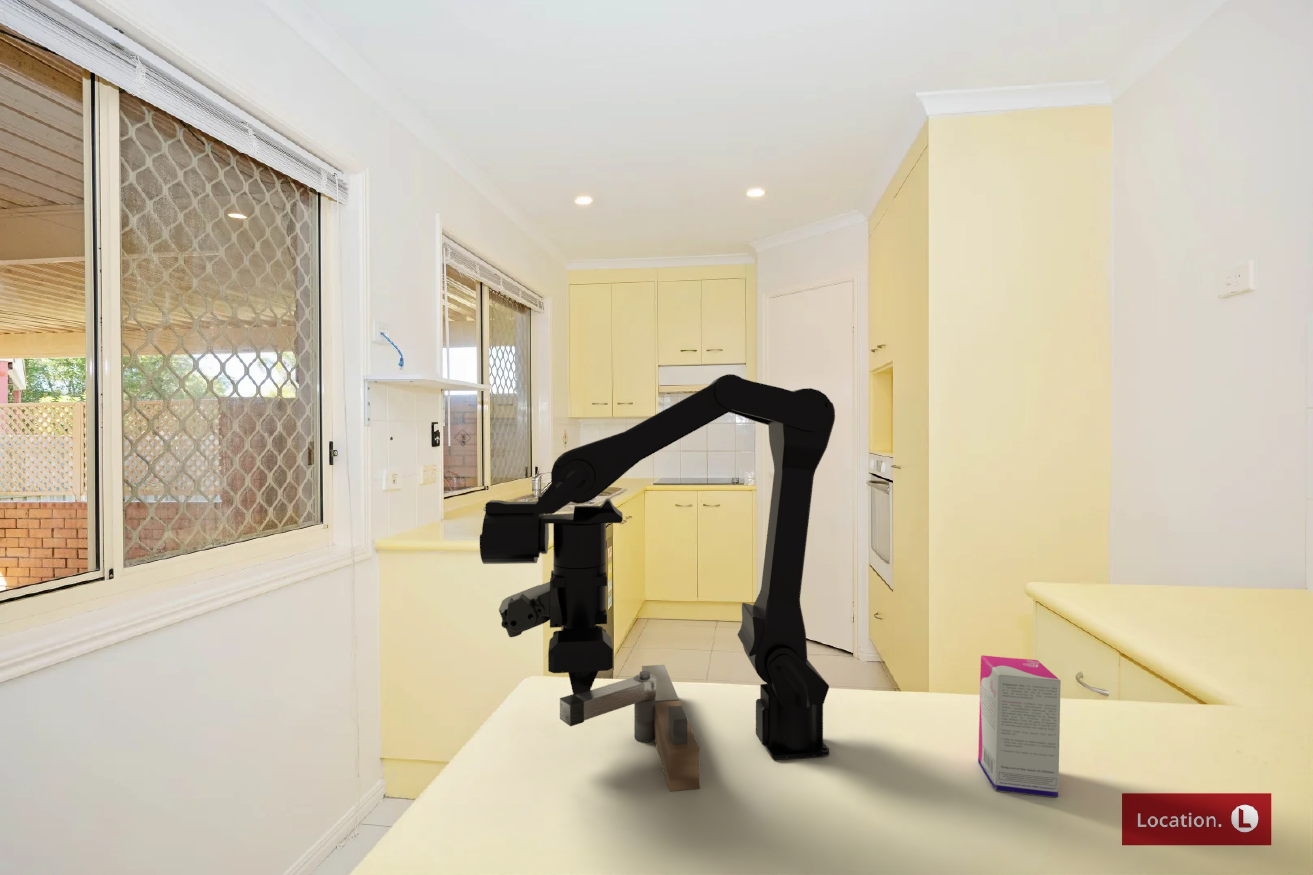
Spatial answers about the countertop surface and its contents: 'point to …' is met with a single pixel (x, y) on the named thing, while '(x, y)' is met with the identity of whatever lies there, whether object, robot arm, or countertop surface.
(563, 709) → the bar
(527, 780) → the countertop surface
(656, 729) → the wooden block clamp
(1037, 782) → the supplement box
